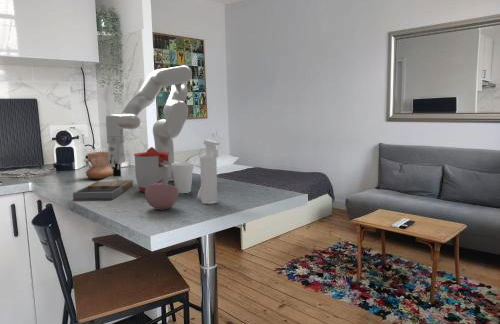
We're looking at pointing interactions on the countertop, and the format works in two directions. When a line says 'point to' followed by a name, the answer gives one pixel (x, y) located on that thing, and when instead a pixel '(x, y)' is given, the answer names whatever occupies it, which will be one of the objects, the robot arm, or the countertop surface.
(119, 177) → the sage tile
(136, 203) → the countertop surface
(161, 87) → the robot arm
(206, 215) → the countertop surface
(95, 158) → the ceramic jug
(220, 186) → the countertop surface
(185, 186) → the foam cup
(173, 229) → the countertop surface
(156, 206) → the apple
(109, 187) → the walnut plate
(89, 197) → the box
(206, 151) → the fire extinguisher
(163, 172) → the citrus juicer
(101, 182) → the cream tile
